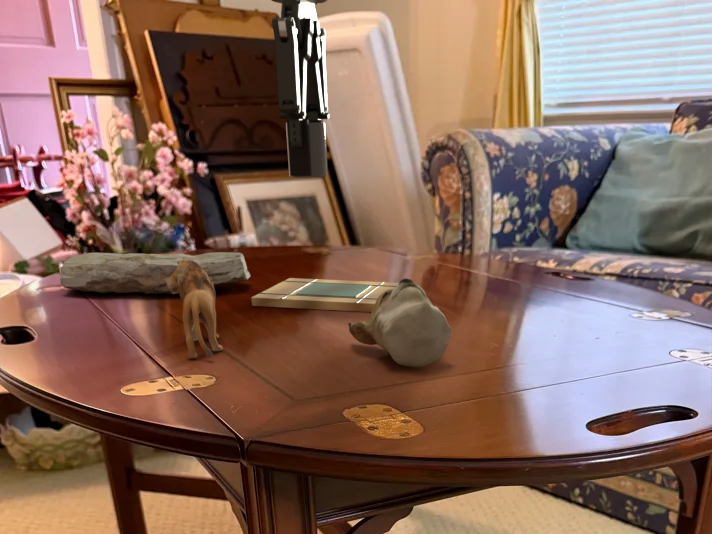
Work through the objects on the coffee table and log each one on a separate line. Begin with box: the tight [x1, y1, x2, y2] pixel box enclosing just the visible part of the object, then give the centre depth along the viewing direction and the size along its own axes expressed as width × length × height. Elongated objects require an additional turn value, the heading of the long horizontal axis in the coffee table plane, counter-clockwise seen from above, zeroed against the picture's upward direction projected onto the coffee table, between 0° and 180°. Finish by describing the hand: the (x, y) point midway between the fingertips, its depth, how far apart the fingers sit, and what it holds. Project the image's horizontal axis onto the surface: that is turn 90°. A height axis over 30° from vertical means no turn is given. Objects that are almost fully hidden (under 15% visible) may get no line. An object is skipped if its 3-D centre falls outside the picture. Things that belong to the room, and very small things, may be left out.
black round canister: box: [285, 122, 329, 179], centre depth 102 cm, size 5×5×6 cm
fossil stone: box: [59, 251, 251, 295], centre depth 118 cm, size 28×15×5 cm, turn 90°
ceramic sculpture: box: [348, 278, 452, 368], centre depth 84 cm, size 11×9×15 cm
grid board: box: [251, 277, 400, 313], centre depth 114 cm, size 20×16×1 cm
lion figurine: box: [165, 259, 224, 359], centre depth 87 cm, size 15×5×9 cm, turn 22°
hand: (308, 174), depth 103 cm, fingers closed on black round canister, 5 cm apart
